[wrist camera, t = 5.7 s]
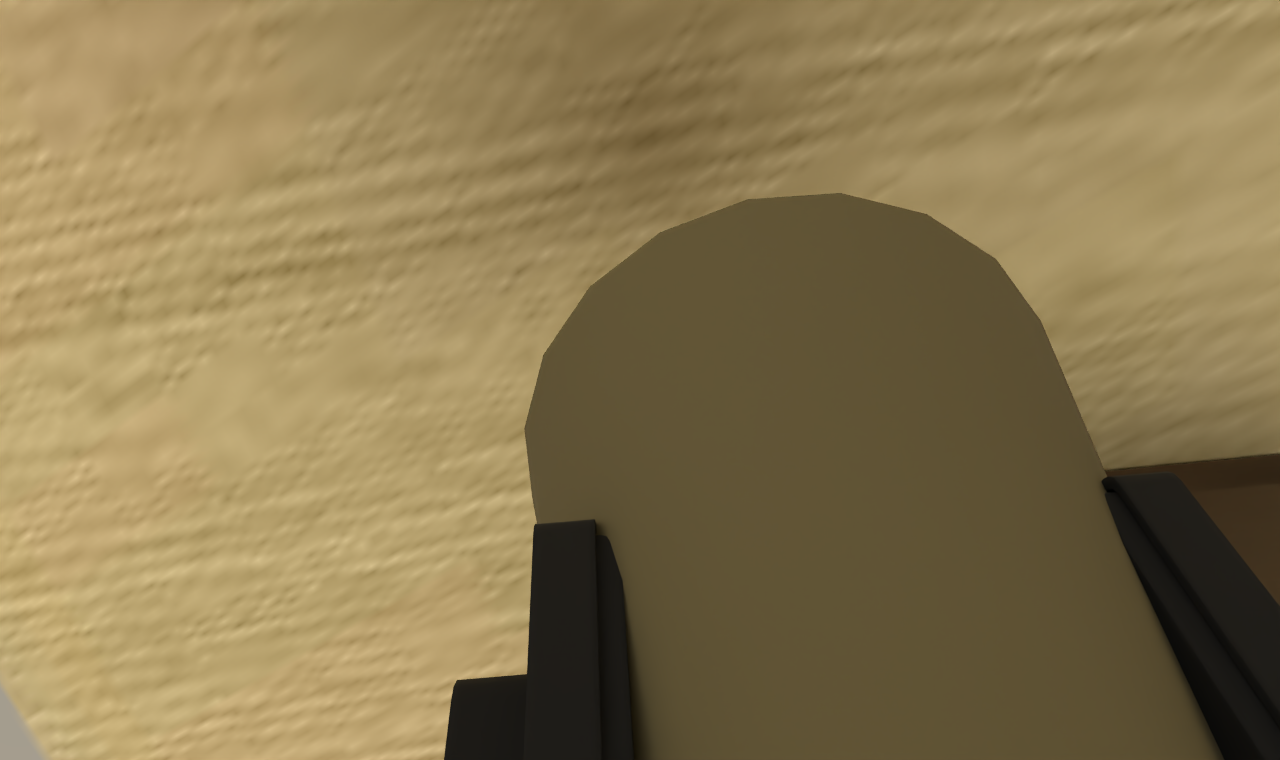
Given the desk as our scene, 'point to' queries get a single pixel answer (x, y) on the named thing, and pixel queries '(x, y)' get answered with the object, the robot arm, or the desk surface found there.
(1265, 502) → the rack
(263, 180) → the desk surface
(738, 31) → the desk surface
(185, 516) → the desk surface
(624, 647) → the robot arm
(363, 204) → the desk surface
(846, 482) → the olive brown waisted cylinder
